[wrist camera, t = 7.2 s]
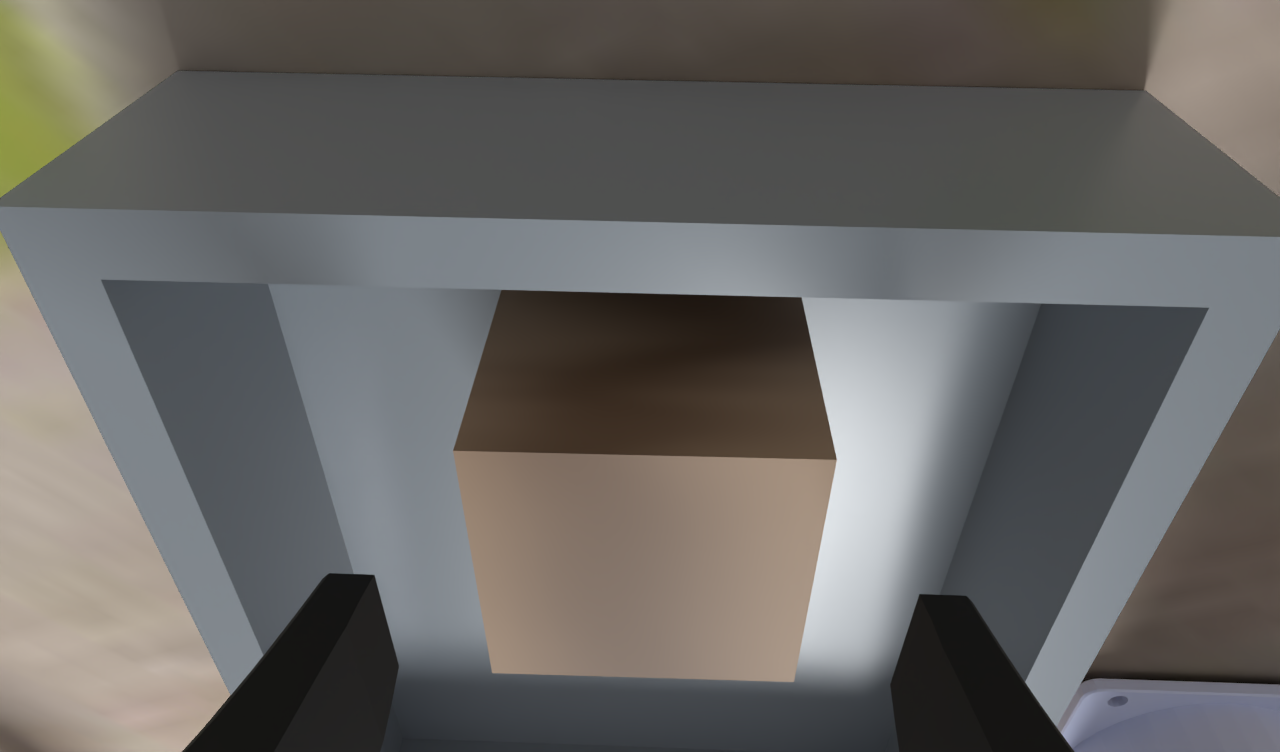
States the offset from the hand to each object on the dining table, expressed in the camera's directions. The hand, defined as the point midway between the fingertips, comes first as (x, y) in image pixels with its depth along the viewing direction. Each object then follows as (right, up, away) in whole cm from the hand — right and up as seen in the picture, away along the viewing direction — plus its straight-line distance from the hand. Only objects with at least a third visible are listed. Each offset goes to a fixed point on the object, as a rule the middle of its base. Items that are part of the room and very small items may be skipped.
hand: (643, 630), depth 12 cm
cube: (0, +4, +5) cm, 6 cm away
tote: (0, 0, +9) cm, 9 cm away
